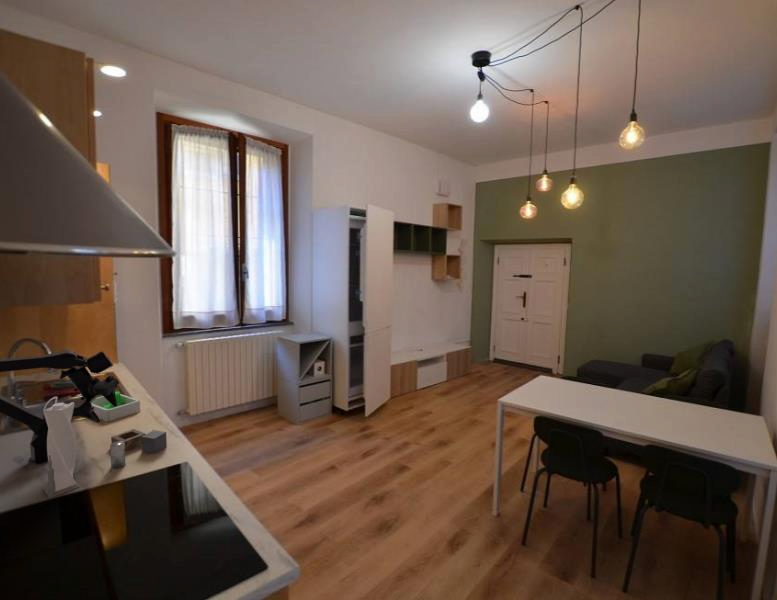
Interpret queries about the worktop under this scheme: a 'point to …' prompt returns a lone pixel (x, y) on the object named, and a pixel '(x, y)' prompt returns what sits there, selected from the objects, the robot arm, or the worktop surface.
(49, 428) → the white tall twisted piece
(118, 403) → the mechanical part
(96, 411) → the part corral
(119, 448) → the grey cylinder
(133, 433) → the socket block
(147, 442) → the grey cube
